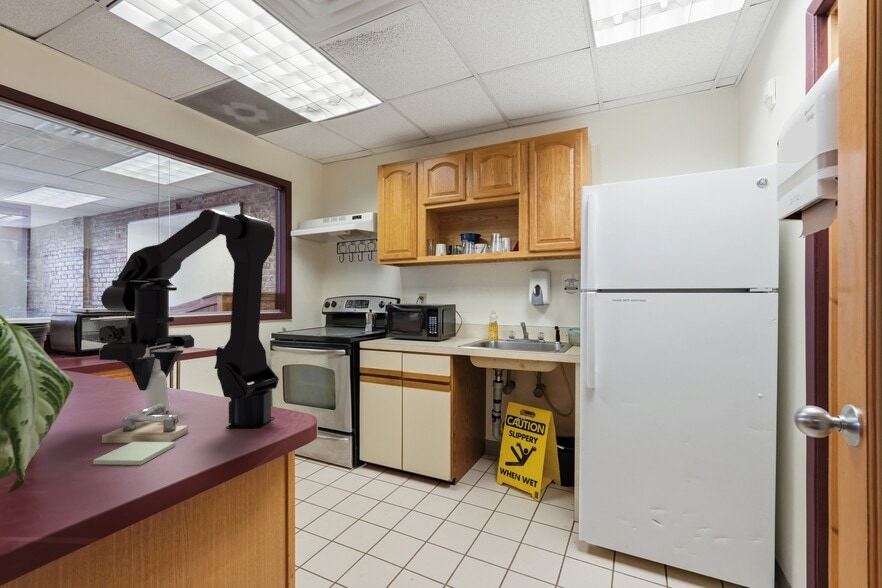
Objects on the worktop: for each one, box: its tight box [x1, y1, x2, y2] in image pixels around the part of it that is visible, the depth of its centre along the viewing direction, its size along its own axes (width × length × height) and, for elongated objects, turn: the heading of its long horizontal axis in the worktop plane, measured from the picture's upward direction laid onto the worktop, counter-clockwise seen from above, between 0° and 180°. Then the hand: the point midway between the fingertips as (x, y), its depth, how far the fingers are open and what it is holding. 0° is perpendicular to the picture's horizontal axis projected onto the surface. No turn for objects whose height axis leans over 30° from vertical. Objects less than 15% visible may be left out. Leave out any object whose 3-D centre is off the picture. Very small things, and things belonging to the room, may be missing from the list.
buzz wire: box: [101, 404, 189, 444], centre depth 69 cm, size 11×11×4 cm
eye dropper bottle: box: [144, 354, 171, 415], centre depth 81 cm, size 4×6×12 cm
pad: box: [93, 441, 176, 466], centre depth 59 cm, size 7×7×1 cm
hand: (151, 387), depth 81 cm, fingers closed on eye dropper bottle, 4 cm apart
